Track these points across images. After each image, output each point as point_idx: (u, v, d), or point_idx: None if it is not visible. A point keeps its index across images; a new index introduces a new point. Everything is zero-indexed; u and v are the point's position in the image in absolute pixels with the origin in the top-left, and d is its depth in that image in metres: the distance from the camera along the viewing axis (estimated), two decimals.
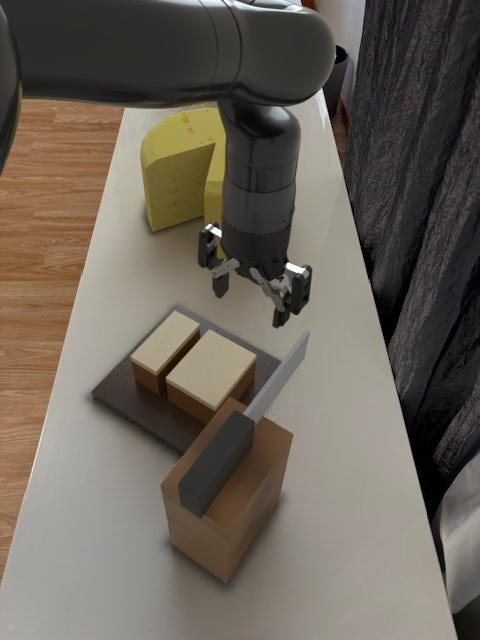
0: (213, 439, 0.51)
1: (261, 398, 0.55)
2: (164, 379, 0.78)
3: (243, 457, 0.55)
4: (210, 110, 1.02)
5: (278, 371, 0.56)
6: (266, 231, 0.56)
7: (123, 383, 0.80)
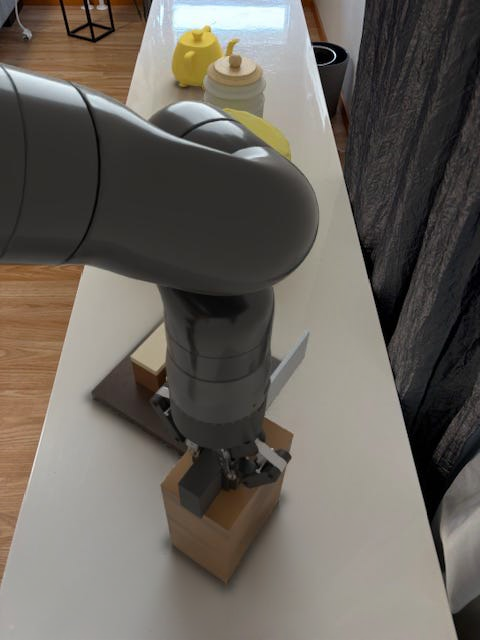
0: None
1: None
2: (164, 379, 0.78)
3: None
4: None
5: (278, 371, 0.56)
6: (229, 420, 0.39)
7: (123, 383, 0.80)
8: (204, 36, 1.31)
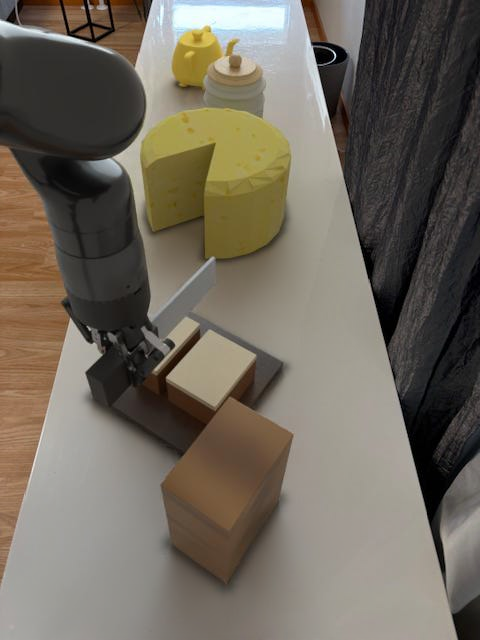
0: None
1: (165, 309, 0.64)
2: (164, 379, 0.78)
3: None
4: (210, 110, 1.02)
5: (183, 288, 0.65)
6: (107, 298, 0.48)
7: None
8: (204, 36, 1.31)
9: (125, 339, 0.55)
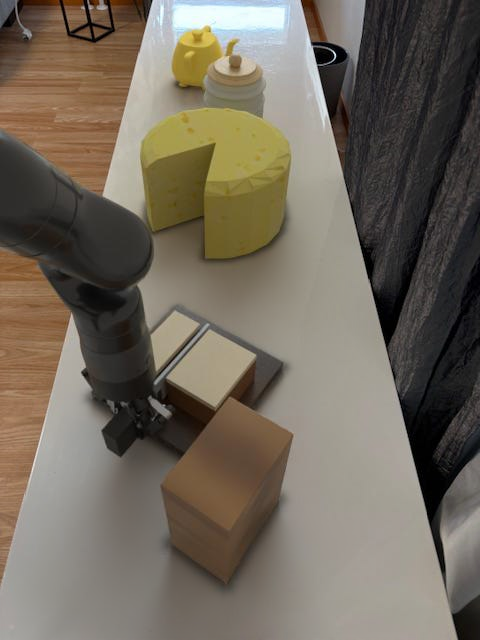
0: None
1: (168, 372, 0.75)
2: None
3: None
4: (210, 110, 1.02)
5: (182, 353, 0.77)
6: (121, 381, 0.59)
7: None
8: (204, 36, 1.31)
9: (135, 405, 0.66)
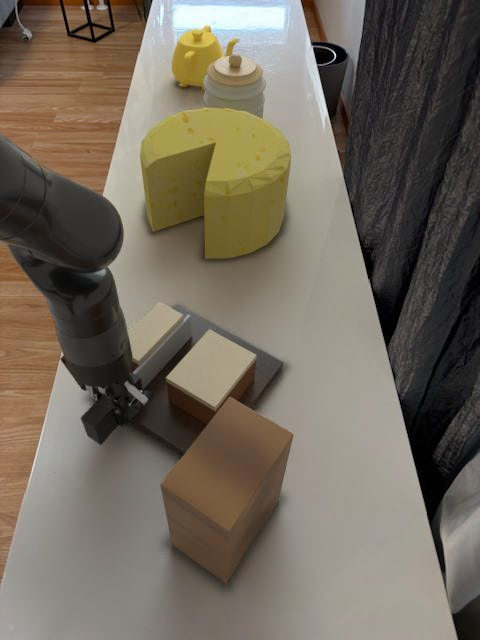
0: None
1: (148, 362, 0.77)
2: None
3: None
4: (210, 110, 1.02)
5: (162, 343, 0.78)
6: (96, 365, 0.61)
7: None
8: (204, 36, 1.31)
9: (112, 391, 0.68)
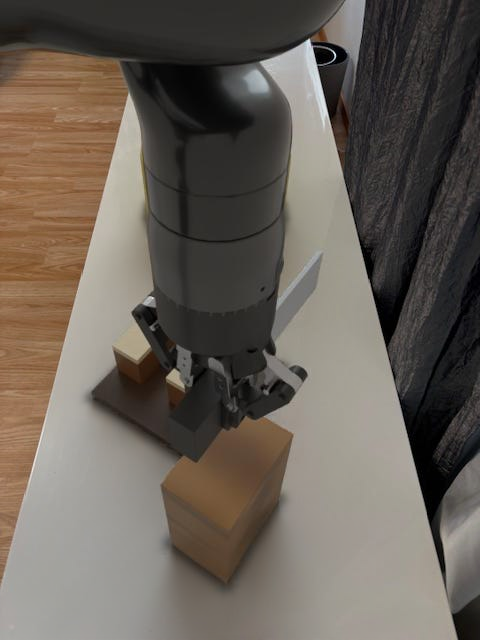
0: None
1: None
2: (146, 368, 0.79)
3: None
4: None
5: (287, 293, 0.48)
6: (230, 308, 0.30)
7: (123, 383, 0.80)
8: None
9: (233, 367, 0.37)
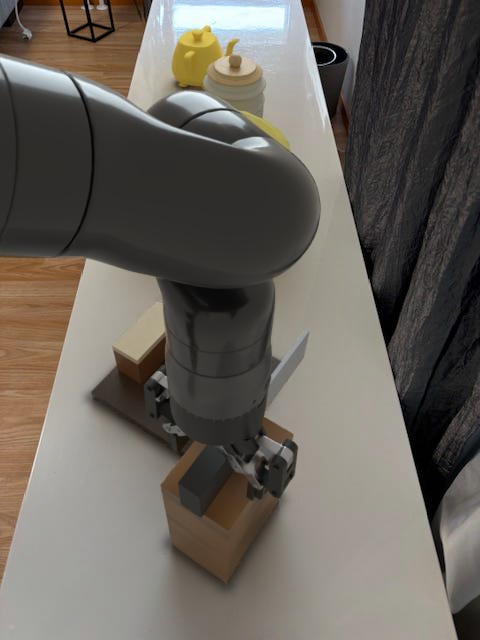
0: None
1: None
2: (146, 368, 0.79)
3: None
4: None
5: (278, 370, 0.56)
6: (229, 417, 0.38)
7: (123, 383, 0.80)
8: (204, 36, 1.31)
9: None
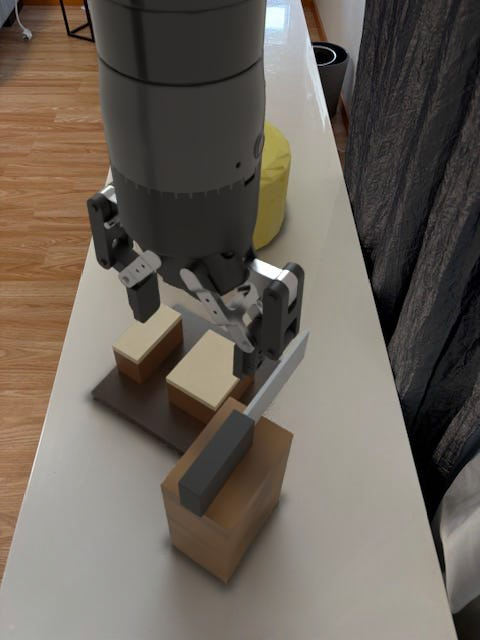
0: (213, 438, 0.51)
1: (261, 397, 0.55)
2: (146, 368, 0.79)
3: (243, 456, 0.55)
4: None
5: (278, 370, 0.56)
6: (198, 188, 0.25)
7: (123, 383, 0.80)
8: None
9: None
